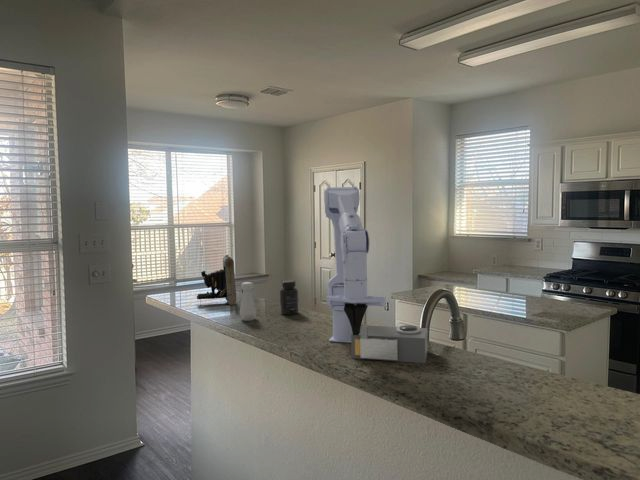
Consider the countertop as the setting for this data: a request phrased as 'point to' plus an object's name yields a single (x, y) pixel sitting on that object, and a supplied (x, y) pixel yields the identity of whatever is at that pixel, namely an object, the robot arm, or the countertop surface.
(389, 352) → the side door
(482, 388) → the countertop surface
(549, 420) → the countertop surface
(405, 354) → the camera housing
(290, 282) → the supplement bottle
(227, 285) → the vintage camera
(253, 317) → the salt shaker
